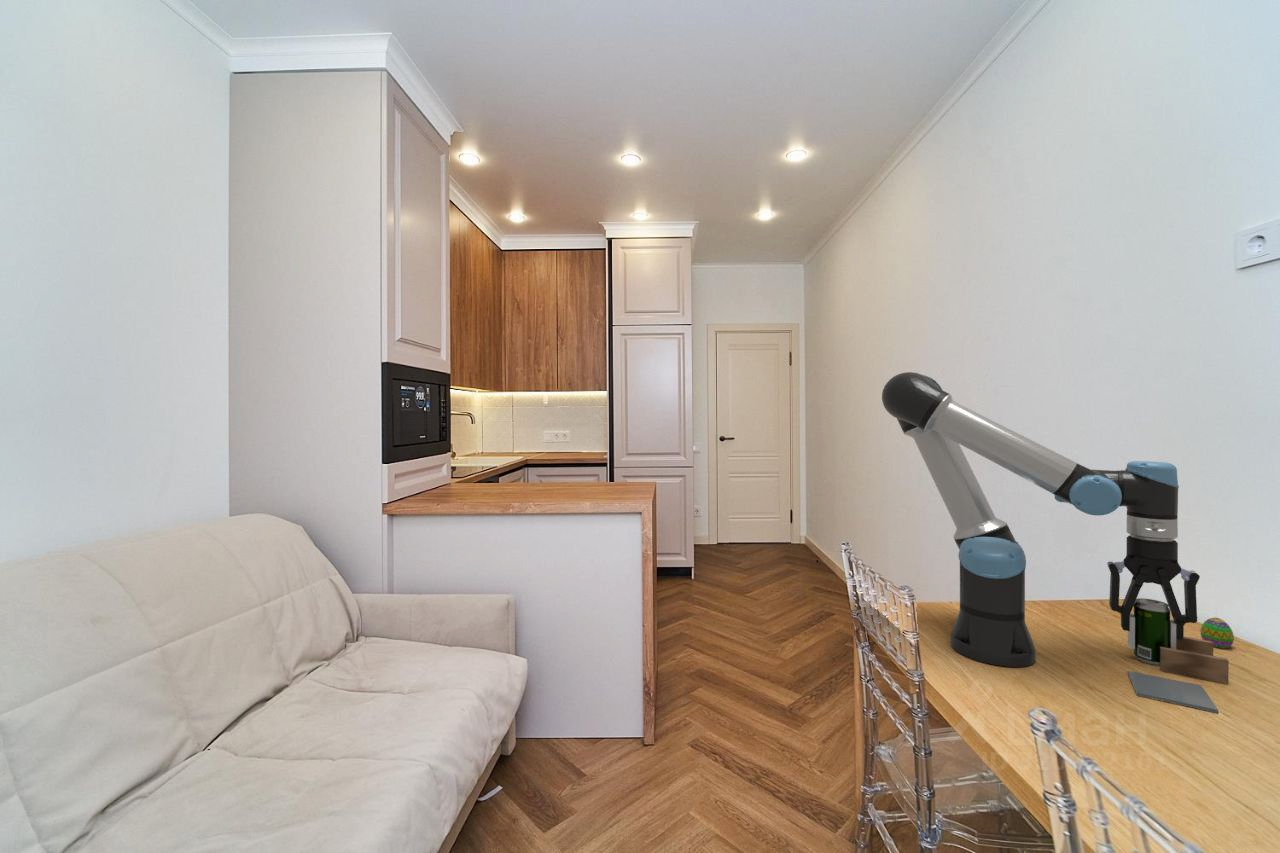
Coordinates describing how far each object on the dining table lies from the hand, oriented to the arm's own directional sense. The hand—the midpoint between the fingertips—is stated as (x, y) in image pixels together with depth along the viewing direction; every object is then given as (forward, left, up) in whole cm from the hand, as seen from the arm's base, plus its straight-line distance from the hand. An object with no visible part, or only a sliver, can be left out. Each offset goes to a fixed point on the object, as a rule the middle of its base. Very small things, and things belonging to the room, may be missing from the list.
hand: (1151, 649), depth 108 cm
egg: (+13, +18, -2) cm, 22 cm away
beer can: (0, 0, -2) cm, 2 cm away
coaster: (0, -15, -2) cm, 15 cm away
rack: (+5, 0, -2) cm, 6 cm away
